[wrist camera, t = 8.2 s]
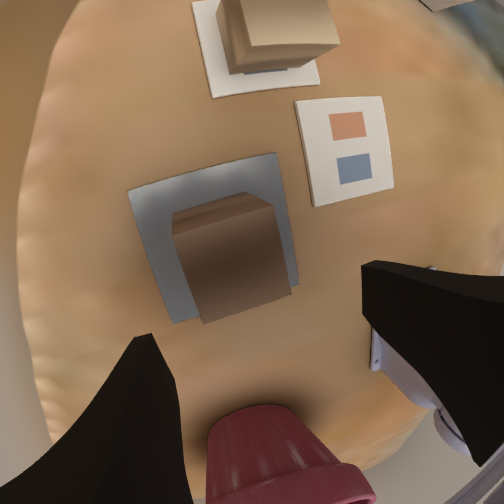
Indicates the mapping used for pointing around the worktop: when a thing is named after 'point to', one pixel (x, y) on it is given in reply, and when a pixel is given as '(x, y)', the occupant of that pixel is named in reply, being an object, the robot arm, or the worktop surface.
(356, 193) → the code tile
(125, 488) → the robot arm
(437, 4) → the milk carton
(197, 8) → the code tile
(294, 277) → the slate coaster
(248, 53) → the oak block
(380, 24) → the worktop surface
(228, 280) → the walnut block
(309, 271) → the worktop surface
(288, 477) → the plant pot
